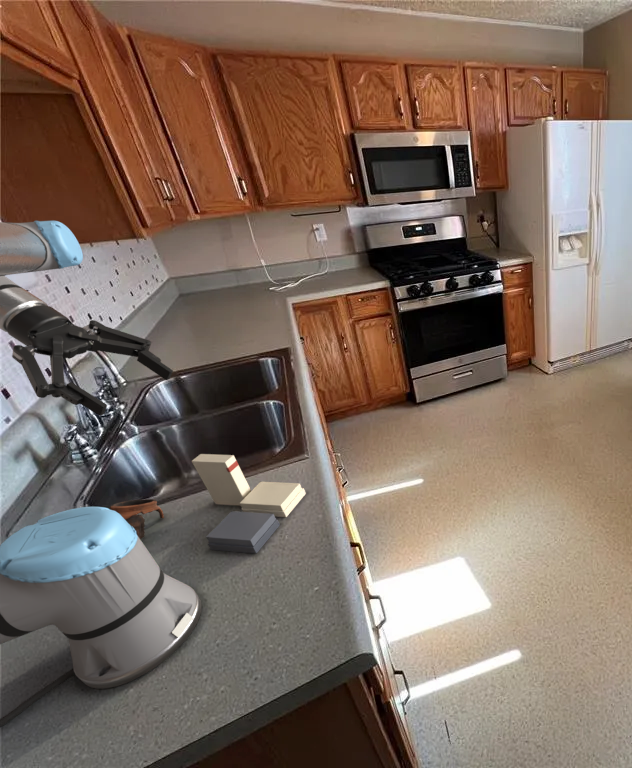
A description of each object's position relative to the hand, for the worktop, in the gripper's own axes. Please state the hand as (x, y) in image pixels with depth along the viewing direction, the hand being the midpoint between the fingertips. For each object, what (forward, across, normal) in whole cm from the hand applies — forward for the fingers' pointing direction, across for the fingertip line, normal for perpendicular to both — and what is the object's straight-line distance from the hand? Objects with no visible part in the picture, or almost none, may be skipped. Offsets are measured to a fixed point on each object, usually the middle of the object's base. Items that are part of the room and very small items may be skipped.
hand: (139, 391), depth 80 cm
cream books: (+33, 0, -6) cm, 33 cm away
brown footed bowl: (+16, +10, -23) cm, 30 cm away
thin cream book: (+26, 0, -13) cm, 29 cm away
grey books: (+33, +9, -6) cm, 35 cm away
